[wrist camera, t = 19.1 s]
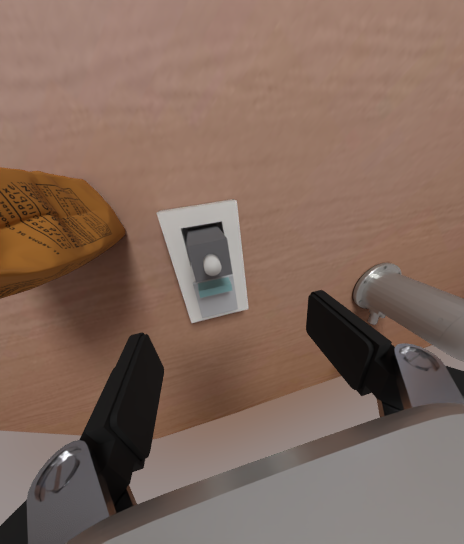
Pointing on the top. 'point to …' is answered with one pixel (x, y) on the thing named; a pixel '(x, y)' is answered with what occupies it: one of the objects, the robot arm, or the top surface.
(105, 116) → the top surface
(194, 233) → the plug
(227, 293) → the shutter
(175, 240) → the socket
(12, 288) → the coffee package
